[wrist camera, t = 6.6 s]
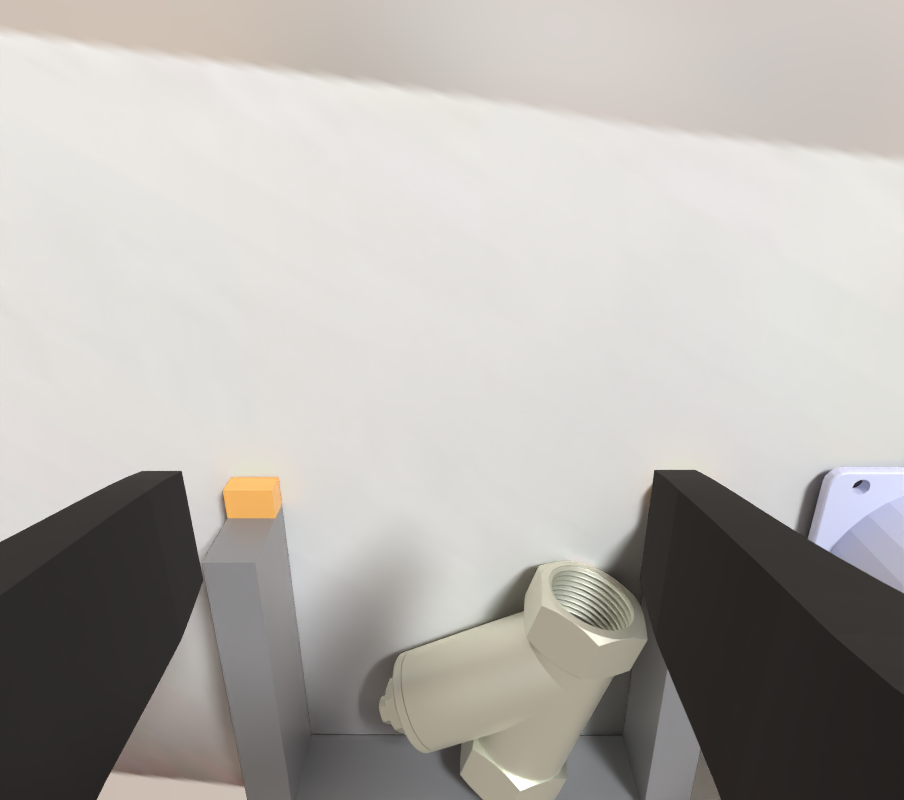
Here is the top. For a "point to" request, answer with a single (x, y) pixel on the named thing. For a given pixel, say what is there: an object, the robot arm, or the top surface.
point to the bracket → (390, 756)
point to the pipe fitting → (520, 682)
